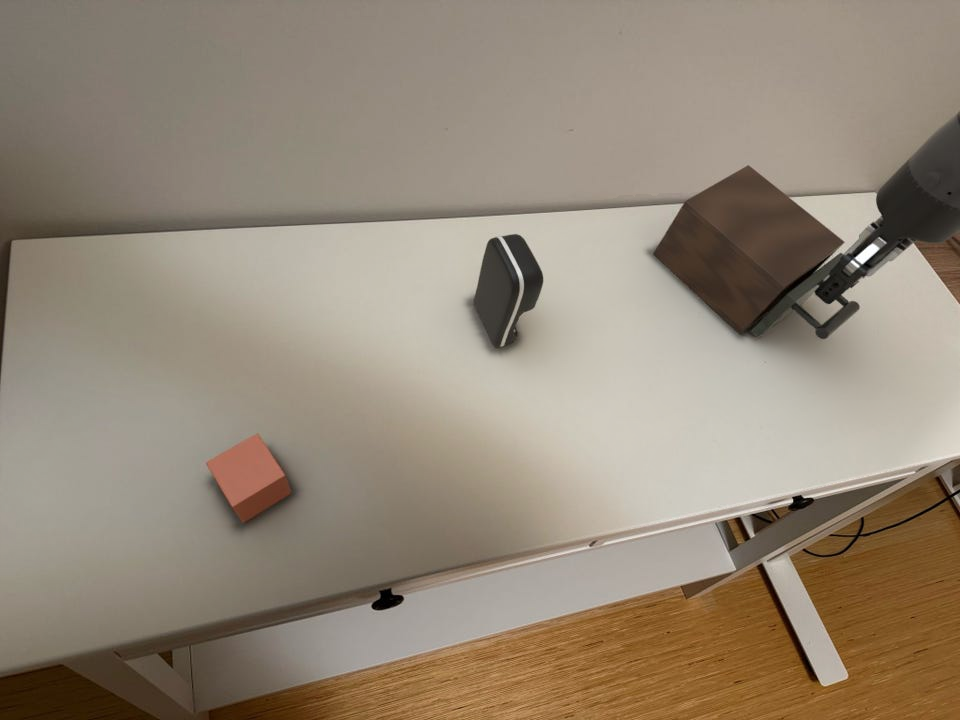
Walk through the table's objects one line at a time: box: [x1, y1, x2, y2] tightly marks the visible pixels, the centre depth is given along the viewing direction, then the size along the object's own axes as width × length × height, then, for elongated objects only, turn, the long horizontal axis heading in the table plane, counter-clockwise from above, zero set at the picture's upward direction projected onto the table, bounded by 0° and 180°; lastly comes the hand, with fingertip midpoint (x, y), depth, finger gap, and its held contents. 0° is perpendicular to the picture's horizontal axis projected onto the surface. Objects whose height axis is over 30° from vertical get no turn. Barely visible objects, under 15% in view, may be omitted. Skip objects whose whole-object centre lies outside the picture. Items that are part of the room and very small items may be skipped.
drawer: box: [750, 252, 861, 340], centre depth 70 cm, size 18×11×7 cm, turn 39°
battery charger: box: [473, 233, 544, 348], centre depth 60 cm, size 7×4×11 cm, turn 22°
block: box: [205, 433, 292, 524], centre depth 50 cm, size 5×5×5 cm
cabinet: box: [652, 164, 845, 335], centre depth 71 cm, size 15×13×9 cm
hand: (824, 296), depth 66 cm, fingers closed
